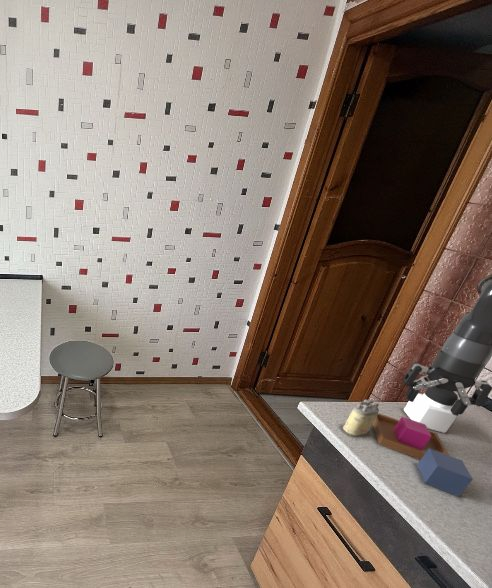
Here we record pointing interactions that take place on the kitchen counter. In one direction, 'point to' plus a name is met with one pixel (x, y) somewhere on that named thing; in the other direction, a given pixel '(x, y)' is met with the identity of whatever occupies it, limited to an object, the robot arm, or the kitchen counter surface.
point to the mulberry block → (412, 433)
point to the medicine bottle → (433, 409)
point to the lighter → (361, 418)
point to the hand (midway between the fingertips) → (431, 406)
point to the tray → (388, 438)
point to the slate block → (444, 472)
